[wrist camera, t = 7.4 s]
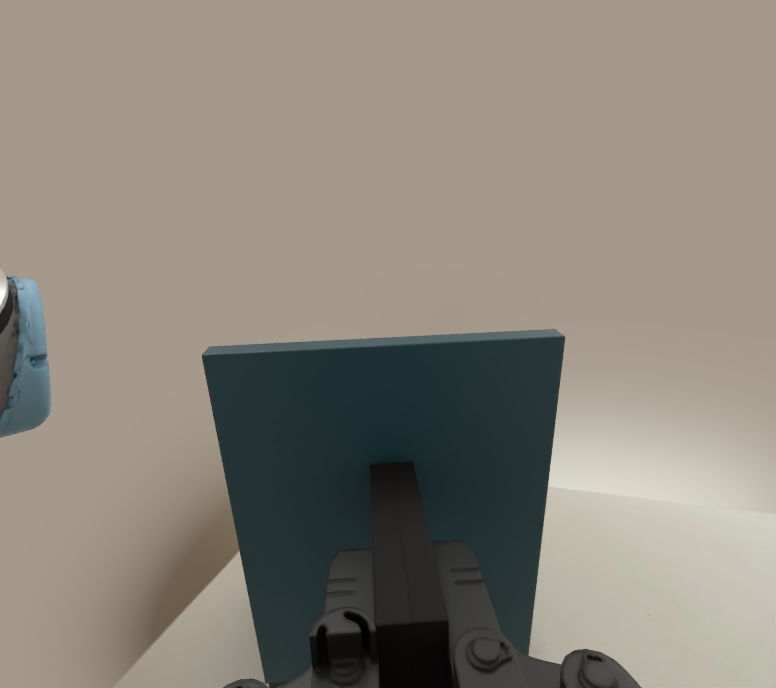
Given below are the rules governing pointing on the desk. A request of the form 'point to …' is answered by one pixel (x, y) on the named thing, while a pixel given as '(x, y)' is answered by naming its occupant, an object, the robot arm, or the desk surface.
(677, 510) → the desk surface
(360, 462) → the cover
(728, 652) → the desk surface
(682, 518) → the desk surface
